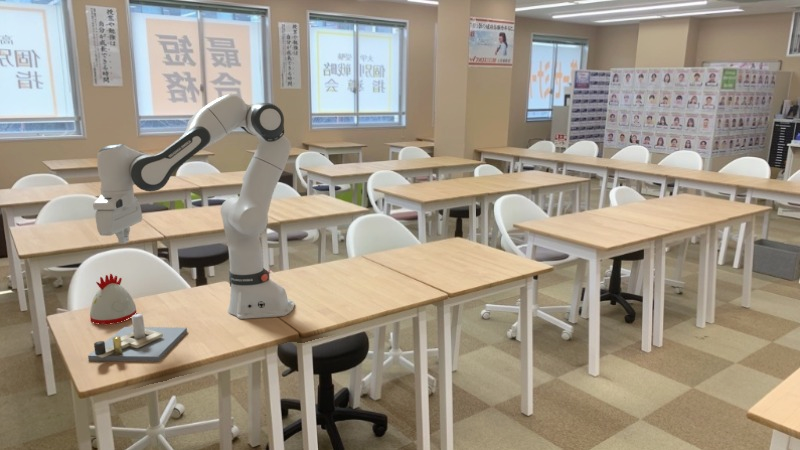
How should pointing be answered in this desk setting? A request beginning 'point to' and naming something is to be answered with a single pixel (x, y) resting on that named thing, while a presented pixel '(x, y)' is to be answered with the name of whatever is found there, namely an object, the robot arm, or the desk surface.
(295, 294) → the desk surface
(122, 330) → the board
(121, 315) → the kitchen timer
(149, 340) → the knobbed lever handle
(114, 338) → the gold rounded cylinder
